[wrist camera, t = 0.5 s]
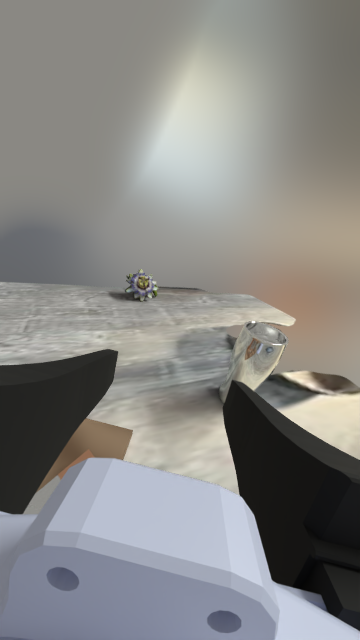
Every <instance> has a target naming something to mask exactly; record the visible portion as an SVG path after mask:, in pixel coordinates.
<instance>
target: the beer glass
mask: <svg viewBox="0 0 360 640" xmlns="http://www.w3.org/2000/svg"><path fill="white" fill-rule="evenodd" d="M287 344H288V338H287V337H286V335H285V334H283V333H282V332H281V331H280V330H278V329H276V328H274V327H272V326H270V325H268V324H265V323H261V322H256V321H249V322H246V323H245V324H244V327H243V329H242V331H241V333H240V335H239V337H238V338H237V341H236V343H235V345H234V348H233V351H232V355H231V359H230V364H229V370H228V375H227V378H226V380H225V381H224V383H223V384H222V385H221V387H220V388H219V397H220V399H221V401H222V402H223V403H225V400H226V397H227V394H228V391H229V388H230V384H231V381H232V380H236V381H240V382H243V383H244V384H246V385H247V386H248V387H250V388H251V389H252V390H253V391H254V392H255V391H256V390H257V389H258V388H259V387H260V385H261V384H262V383H263V382H264V381H265V380H266V379H267V378H268V377H269V376H270V375H271V373H272V372H273V371H274V369H275V368H276V366H277V364H278V362H279V361H280V359H281V357H282V354H283V352H284V350H285V348H286V345H287Z"/></svg>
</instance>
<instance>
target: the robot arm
mask: <svg viewBox="0 0 360 640" xmlns="http://www.w3.org/2000/svg"><path fill="white" fill-rule="evenodd" d="M117 356H118V351H114V350H110V349H106V350H101V351H97V352H93V353H89V354H85V355H81V356H77V357H72V358H68V359H63V360H58V361H51V362H44V363H35V364H22V365H0V640H360V460H358V459H356V458H354V457H352V456H350V455H349V454H347V453H345V452H343V451H341V450H339V449H337V448H335V447H333V446H331V445H330V444H328V443H326V442H324V441H323V440H321V439H319V438H318V437H316V436H314V435H312V434H311V433H309V432H308V431H306V430H304V429H303V428H301V427H300V426H298V425H297V424H295V423H294V422H292V421H291V420H290V419H288V418H287V417H285V416H284V415H283V414H281V413H280V412H279V411H277V410H276V409H275V408H274V407H272V406H271V405H270V404H269V403H267V402H266V401H265V400H264V399H263V398H261V397H260V396H259V395H258V394H257V393H256V392H254V391H253V390H252V389H251V388H250V387H248V386H247V385H246V384H244V383H243V382H240V381H236V380H232V381H231V384H230V388H229V391H228V394H227V397H226V400H225V403H224V406H223V416H224V424H225V429H226V433H227V437H228V441H229V445H230V449H231V453H232V457H233V461H234V465H235V470H236V474H237V481H238V487H239V494H240V496H239V495H237V494H235V493H233V492H231V491H230V490H228V489H226V488H224V487H222V486H220V485H218V484H214V483H210V482H206V481H202V480H198V479H194V478H190V477H186V476H182V475H179V474H175V473H171V472H167V471H163V470H159V469H155V468H151V467H147V466H143V465H139V464H135V463H131V462H127V461H124V460H120V459H116V458H88V459H86V460H84V461H82V462H80V463H78V464H76V465H74V466H72V467H70V468H69V469H68V470H67V472H66V473H65V475H64V476H63V478H62V479H61V481H60V482H59V484H58V485H57V487H56V488H55V490H54V491H53V493H52V494H51V496H50V497H49V499H48V500H47V502H46V503H45V505H44V506H43V508H42V509H41V511H40V512H39V514H23V513H24V511H25V510H26V508H27V506H28V505H29V503H30V501H31V500H32V498H33V496H34V495H35V493H36V492H37V490H38V488H39V487H40V485H41V483H42V482H43V480H44V479H45V477H46V475H47V474H48V472H49V471H50V469H51V467H52V466H53V464H54V463H55V461H56V460H57V458H58V457H59V455H60V453H61V452H62V450H63V449H64V447H65V446H66V444H67V443H68V441H69V440H70V438H71V437H72V435H73V434H74V433H75V431H76V430H77V429H78V427H79V426H80V425H81V423H82V422H83V421H84V420H85V419H86V417H87V416H88V415H89V414H90V412H91V411H92V410H93V409H94V408H95V406H96V405H97V404H98V403H99V401H100V400H101V399H102V398H103V396H104V395H105V394H106V392H107V390H108V389H109V387H110V385H111V384H112V382H113V379H114V373H115V367H116V362H117Z"/></svg>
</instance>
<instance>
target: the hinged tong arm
mask: <svg viewBox="0 0 360 640" xmlns="http://www.w3.org/2000/svg"><path fill="white" fill-rule="evenodd" d="M88 458H95V457H94V456H93V454H92V453H91V451H90V450H89V449H88V450H87V451H86V452H84V453H83V454H82V455H81V456H80V457H78V458H77V459H76V460H75V461H74V462H72V463H71V464H70V465H69V466H67V467H66V468H65V469H64V470H63V471H61V472H60V473H59V474H58V475H57V476H56V477H55V478H53V479H52V480H51V481H50V482H49V483H47V484H46V485H45V486H44V487H43V488H41V489H40V490H39V491H38V492H36V493H35V495H34V496H33V498H32V500H31V501H30V503H29V505H28V506H27V508H26V510H25V511H24V513H23V514H39V512H40V511H41V509H42V508H43V506H44V505H45V503H46V502H47V500H48V499H49V497H50V496H51V494H52V493H53V491H54V490H55V488H56V487H57V485H58V484H59V482H60V481H61V479H62V478H63V476H64V475H65V473H66V472H67V470H68V469H69V468H70V467H72V466H74V465H76V464H78V463H80V462H82V461H84V460H86V459H88Z"/></svg>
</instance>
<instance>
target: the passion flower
mask: <svg viewBox="0 0 360 640" xmlns="http://www.w3.org/2000/svg"><path fill="white" fill-rule="evenodd" d="M127 278H128V280H126V281H127V282H128V283H130V284H131V285H130V287H128V288H127V289H126V290H125V292H133V294H134V299H136V298H139V299H140V301H141V302H142V301H143V300H144V298H145V296H148V297H149V298H152V292H153V293H154V295H155V297H156V296H157V291H156V290H158V287H157V286H156V283H157V282H156V281H152V280H151V278H152V275H147V276H144V273H143V271H142V270H141V269H140V270H139V272H138V273H137V274H134V275H132V274H129V277H128V276H127ZM129 278H130V279H129Z"/></svg>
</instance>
